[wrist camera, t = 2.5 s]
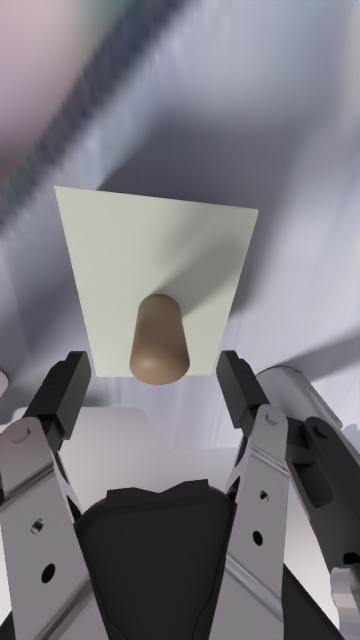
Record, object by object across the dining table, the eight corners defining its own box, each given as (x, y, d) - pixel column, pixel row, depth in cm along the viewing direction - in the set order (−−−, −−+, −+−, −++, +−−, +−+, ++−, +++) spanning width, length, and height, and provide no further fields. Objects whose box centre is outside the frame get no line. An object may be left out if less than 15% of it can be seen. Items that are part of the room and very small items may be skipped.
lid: (248, 207, 14) (327, 220, 7) (207, 363, 23) (227, 429, 17) (66, 186, 12) (-37, 178, 6) (101, 364, 21) (76, 437, 15)
